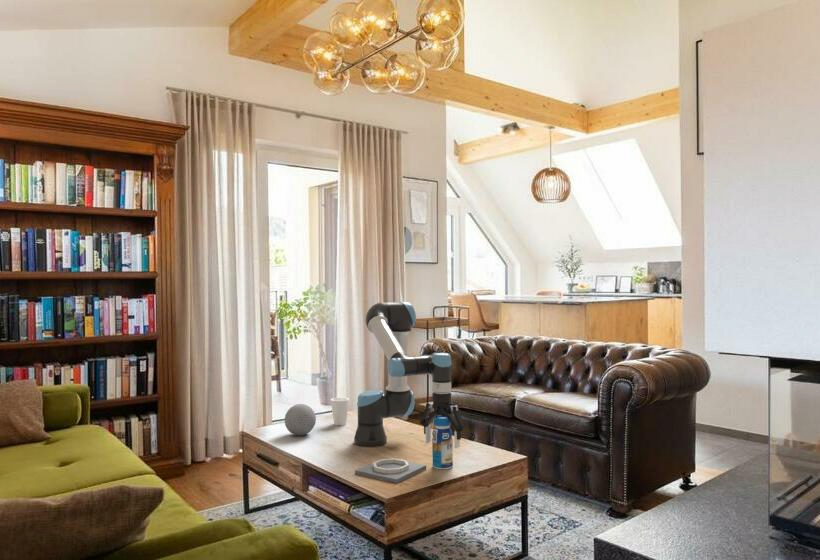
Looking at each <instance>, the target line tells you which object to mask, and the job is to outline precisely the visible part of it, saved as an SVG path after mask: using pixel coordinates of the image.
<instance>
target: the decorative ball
mask: <svg viewBox="0 0 820 560" xmlns="http://www.w3.org/2000/svg"><path fill="white" fill-rule="evenodd" d="M316 421H317V417H316V413H315V411H314V409H313V407H310V405H307V404H304V403H297V404H294V405H292V406H291V407H290V408H289V409H288V410H287V411H286V413H285V416H284V425H285V427H286V429H287V431H288V432H289V433H291V434H292V435H294V436H305V435H308V434H309V433H310V432H311V431H312V430H313V429H314V427H315V426H316V423H317V422H316Z"/></svg>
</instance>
